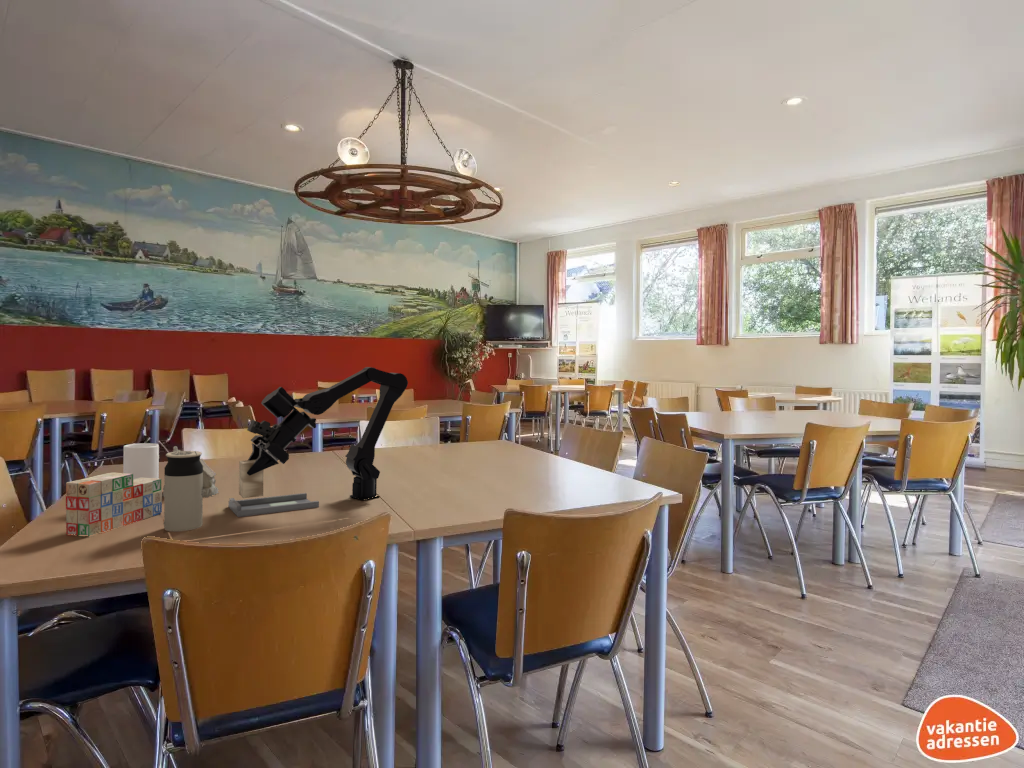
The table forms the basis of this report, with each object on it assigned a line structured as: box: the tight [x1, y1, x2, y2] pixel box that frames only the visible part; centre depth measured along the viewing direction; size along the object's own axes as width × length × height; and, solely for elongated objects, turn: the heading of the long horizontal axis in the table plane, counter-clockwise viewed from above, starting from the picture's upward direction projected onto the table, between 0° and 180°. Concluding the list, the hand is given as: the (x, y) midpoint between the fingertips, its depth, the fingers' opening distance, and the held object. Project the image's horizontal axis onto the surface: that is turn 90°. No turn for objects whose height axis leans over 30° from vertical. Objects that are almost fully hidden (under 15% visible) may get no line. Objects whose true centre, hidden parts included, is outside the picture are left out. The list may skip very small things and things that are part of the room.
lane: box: [228, 492, 320, 518], centre depth 160 cm, size 21×12×3 cm, turn 126°
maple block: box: [238, 459, 265, 499], centre depth 156 cm, size 5×5×9 cm
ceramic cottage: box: [162, 445, 219, 498], centre depth 177 cm, size 16×16×15 cm
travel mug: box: [163, 450, 204, 532], centre depth 140 cm, size 8×8×18 cm
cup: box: [122, 442, 160, 479], centre depth 162 cm, size 8×8×16 cm
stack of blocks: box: [65, 472, 163, 536], centre depth 142 cm, size 21×6×12 cm, turn 170°
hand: (245, 472), depth 156 cm, fingers closed on maple block, 5 cm apart
